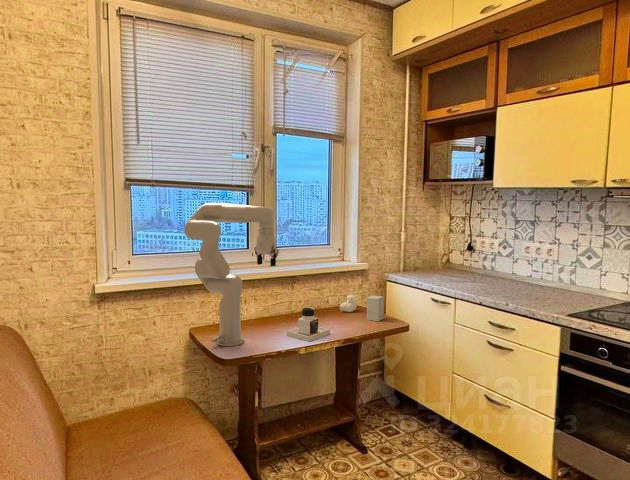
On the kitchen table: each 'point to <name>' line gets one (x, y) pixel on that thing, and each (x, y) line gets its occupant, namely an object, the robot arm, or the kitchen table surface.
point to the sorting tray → (308, 338)
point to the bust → (349, 304)
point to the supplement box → (375, 308)
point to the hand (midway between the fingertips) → (266, 265)
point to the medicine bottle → (308, 322)
